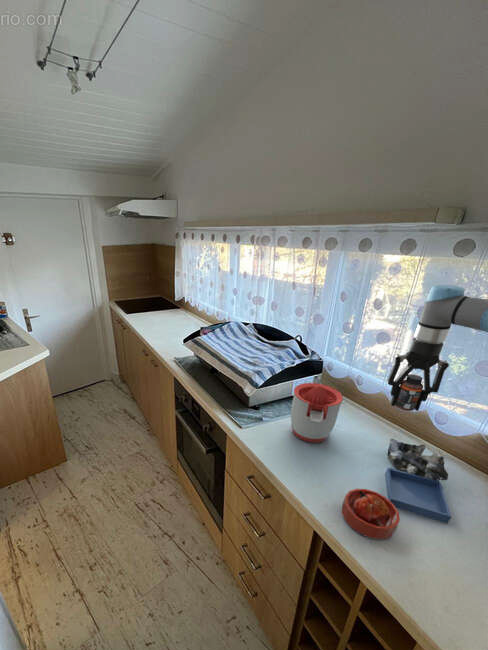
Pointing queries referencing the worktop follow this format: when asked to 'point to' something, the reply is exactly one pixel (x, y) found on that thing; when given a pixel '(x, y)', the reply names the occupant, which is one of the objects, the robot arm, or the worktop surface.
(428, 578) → the worktop surface
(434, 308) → the robot arm
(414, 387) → the supplement bottle
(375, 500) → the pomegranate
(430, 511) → the blue tray
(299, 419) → the citrus juicer
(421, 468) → the foil
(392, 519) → the red bowl
